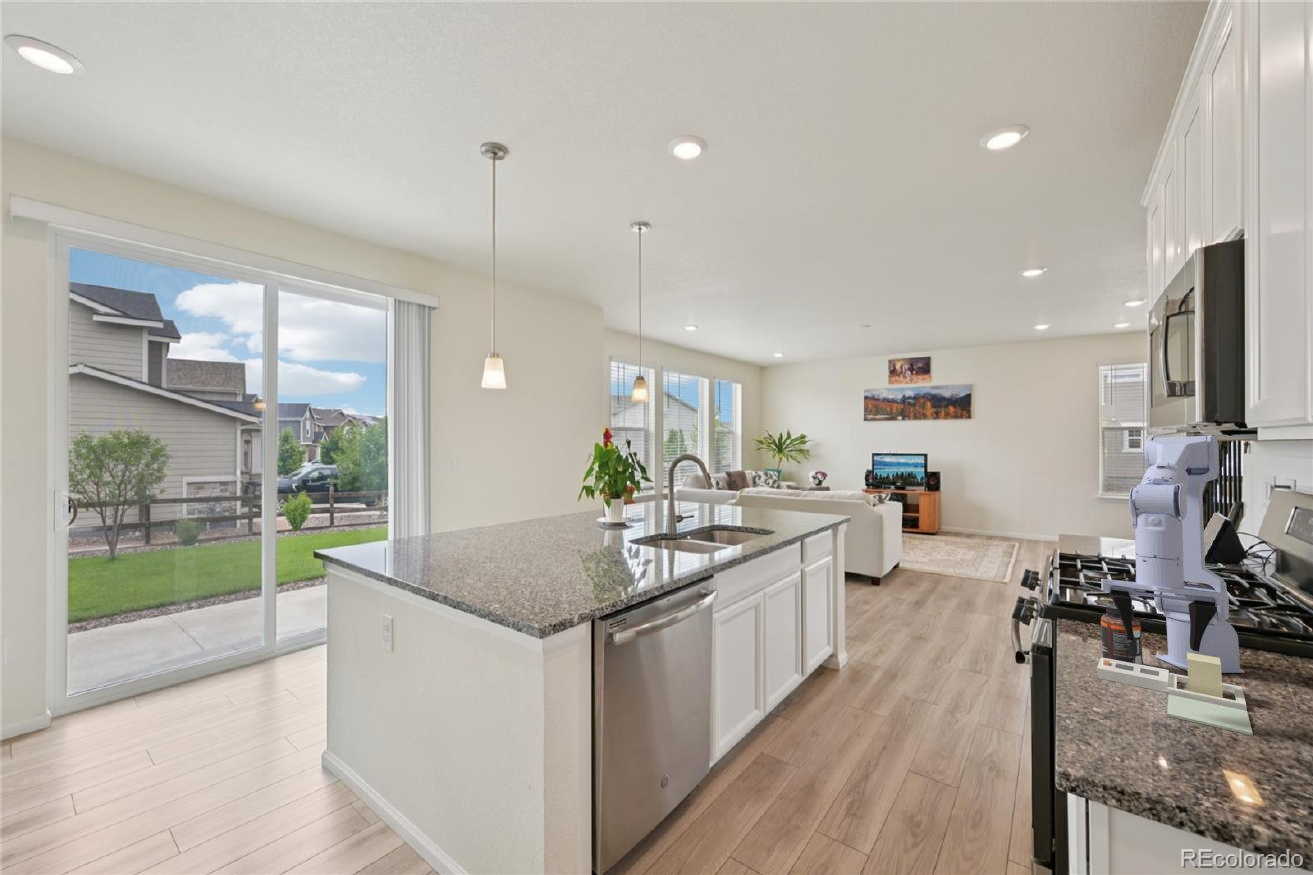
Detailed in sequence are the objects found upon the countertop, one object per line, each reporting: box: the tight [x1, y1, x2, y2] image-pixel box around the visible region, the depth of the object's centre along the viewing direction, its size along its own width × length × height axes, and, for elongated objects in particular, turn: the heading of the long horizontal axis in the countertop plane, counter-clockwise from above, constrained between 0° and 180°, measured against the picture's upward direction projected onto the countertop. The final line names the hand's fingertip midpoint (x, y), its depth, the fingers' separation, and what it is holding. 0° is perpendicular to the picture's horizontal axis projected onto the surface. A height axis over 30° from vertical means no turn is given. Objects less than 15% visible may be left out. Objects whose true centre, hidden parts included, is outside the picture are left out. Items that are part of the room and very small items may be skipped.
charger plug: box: [1187, 652, 1224, 698], centre depth 92 cm, size 4×4×6 cm
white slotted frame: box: [1096, 656, 1248, 712], centre depth 96 cm, size 18×9×2 cm, turn 46°
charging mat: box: [1166, 694, 1253, 737], centre depth 85 cm, size 9×9×1 cm
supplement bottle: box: [1100, 603, 1144, 665], centre depth 105 cm, size 6×6×11 cm
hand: (1161, 644), depth 87 cm, fingers open, 7 cm apart
